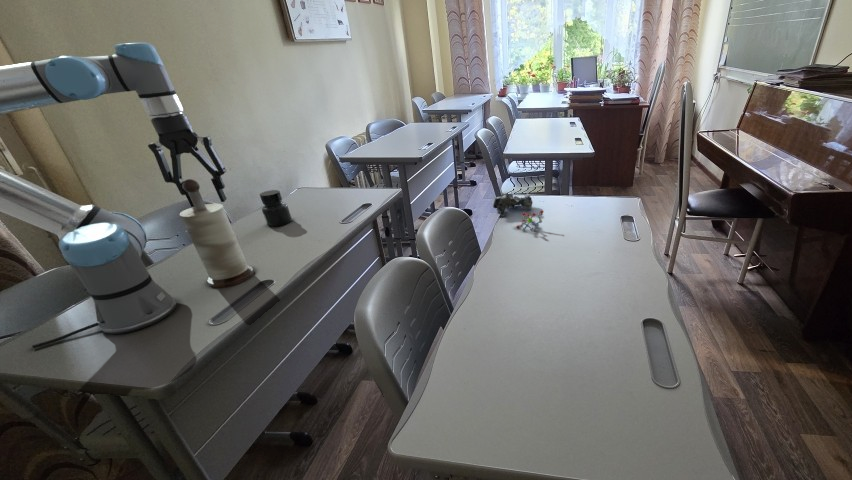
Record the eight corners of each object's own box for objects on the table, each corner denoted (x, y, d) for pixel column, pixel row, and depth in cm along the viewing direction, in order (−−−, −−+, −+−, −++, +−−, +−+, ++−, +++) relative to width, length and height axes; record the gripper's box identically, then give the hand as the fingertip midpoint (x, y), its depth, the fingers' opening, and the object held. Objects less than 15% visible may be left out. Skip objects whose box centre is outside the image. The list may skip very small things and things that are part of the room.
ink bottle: (278, 217, 161) (268, 188, 154) (297, 218, 159) (288, 189, 153) (261, 227, 152) (250, 196, 146) (281, 227, 151) (270, 197, 145)
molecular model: (545, 230, 137) (545, 209, 134) (525, 235, 134) (525, 214, 131) (534, 223, 143) (534, 203, 139) (515, 228, 140) (514, 208, 136)
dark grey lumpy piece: (538, 206, 148) (503, 187, 143) (523, 229, 153) (489, 212, 148) (534, 195, 158) (501, 176, 153) (519, 217, 163) (487, 200, 158)
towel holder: (214, 272, 121) (203, 290, 112) (169, 176, 107) (152, 188, 97) (257, 264, 125) (249, 282, 115) (219, 171, 110) (207, 182, 100)
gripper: (215, 108, 105) (250, 192, 117) (128, 118, 100) (174, 205, 112) (207, 111, 99) (245, 200, 110) (114, 122, 94) (164, 214, 106)
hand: (209, 202), depth 111 cm, fingers open, 7 cm apart
